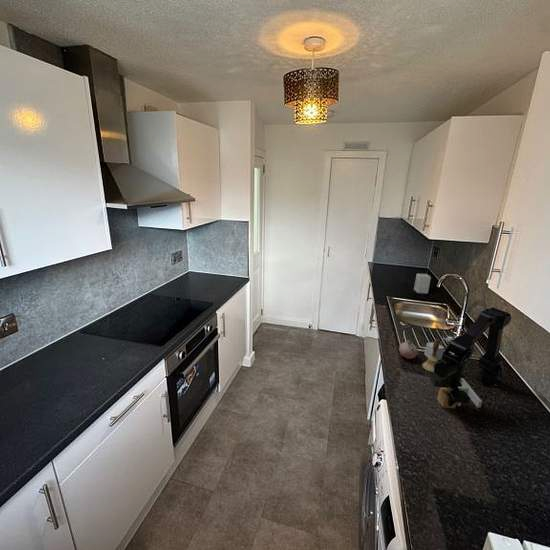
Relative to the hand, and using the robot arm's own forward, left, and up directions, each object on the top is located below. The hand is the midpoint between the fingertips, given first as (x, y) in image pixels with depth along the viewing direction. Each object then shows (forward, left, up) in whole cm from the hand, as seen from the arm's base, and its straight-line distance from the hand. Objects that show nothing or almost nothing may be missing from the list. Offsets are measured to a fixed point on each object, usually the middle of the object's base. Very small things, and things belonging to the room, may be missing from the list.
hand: (446, 401), depth 126 cm
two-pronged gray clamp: (-9, -8, -1) cm, 12 cm away
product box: (-10, -36, -1) cm, 37 cm away
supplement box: (-45, -141, -1) cm, 148 cm away
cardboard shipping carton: (0, 0, -1) cm, 1 cm away
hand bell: (-5, -26, -1) cm, 27 cm away
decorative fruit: (+5, -33, -1) cm, 33 cm away
